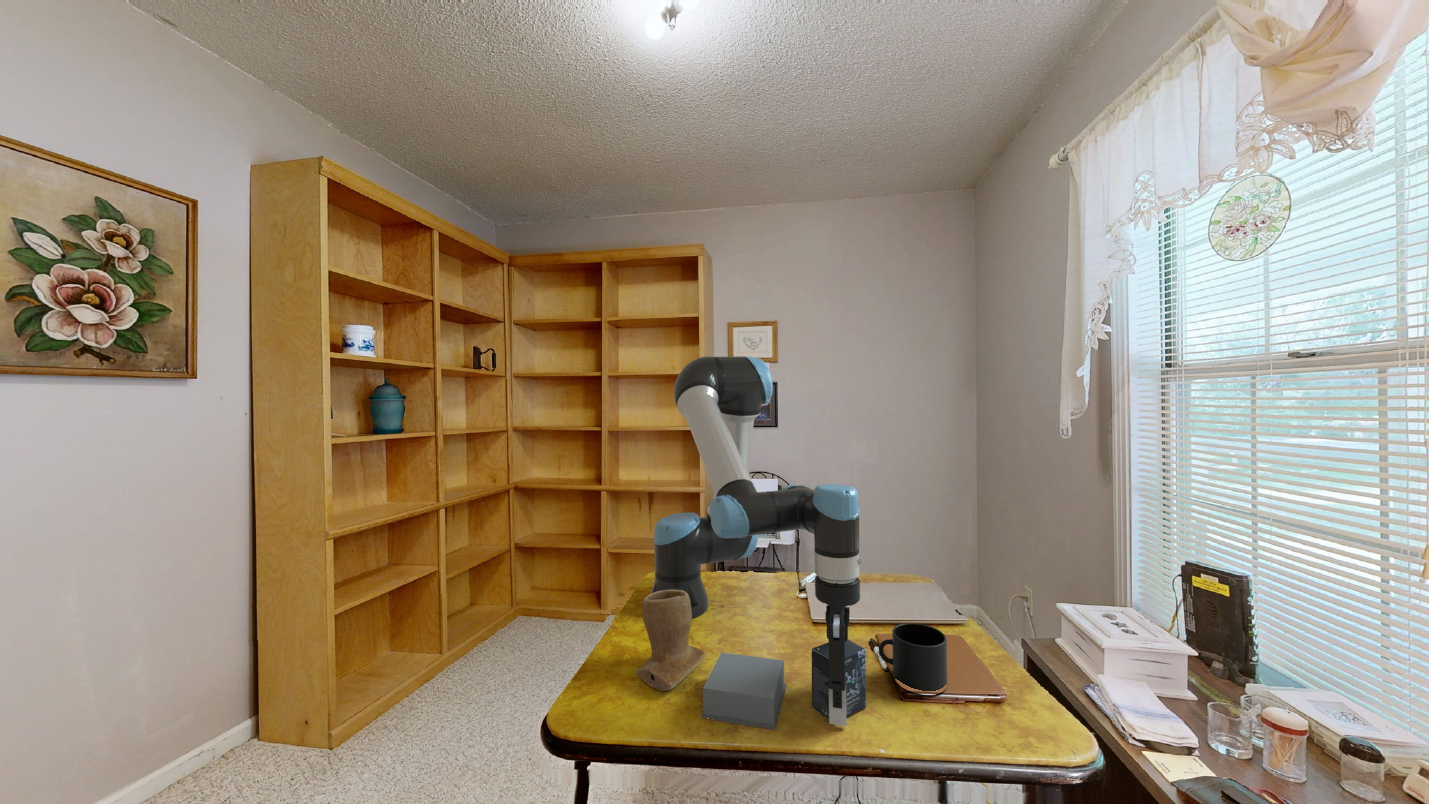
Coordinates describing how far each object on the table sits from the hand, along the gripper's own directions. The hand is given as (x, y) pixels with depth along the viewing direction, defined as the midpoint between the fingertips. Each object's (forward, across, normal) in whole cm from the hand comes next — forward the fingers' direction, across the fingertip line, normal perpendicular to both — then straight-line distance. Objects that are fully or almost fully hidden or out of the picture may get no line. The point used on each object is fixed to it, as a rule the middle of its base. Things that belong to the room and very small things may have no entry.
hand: (839, 705), depth 87 cm
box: (+1, 0, 0) cm, 1 cm away
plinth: (+1, -2, +16) cm, 16 cm away
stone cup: (+1, +4, +33) cm, 33 cm away
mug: (+1, +12, -13) cm, 18 cm away
